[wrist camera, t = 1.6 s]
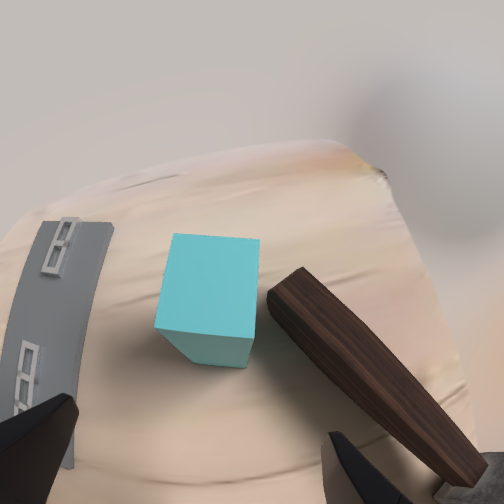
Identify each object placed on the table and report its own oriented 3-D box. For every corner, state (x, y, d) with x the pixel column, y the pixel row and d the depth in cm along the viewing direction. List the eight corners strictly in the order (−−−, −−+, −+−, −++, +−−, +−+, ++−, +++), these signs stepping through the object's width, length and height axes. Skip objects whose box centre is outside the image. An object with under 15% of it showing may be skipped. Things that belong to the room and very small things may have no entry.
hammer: (257, 331, 25) (445, 513, 11) (254, 264, 16) (518, 524, 2) (295, 301, 27) (473, 477, 12) (312, 224, 18) (548, 471, 3)
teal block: (245, 368, 20) (254, 338, 10) (194, 363, 20) (153, 327, 10) (249, 313, 22) (259, 239, 13) (200, 309, 22) (173, 233, 12)
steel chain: (35, 443, 13) (30, 443, 12) (18, 433, 13) (13, 432, 12) (81, 221, 25) (78, 217, 24) (65, 221, 24) (62, 217, 24)
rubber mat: (74, 468, 13) (68, 469, 12) (2, 428, 13) (-4, 427, 12) (114, 228, 25) (111, 222, 25) (46, 226, 25) (43, 221, 24)
